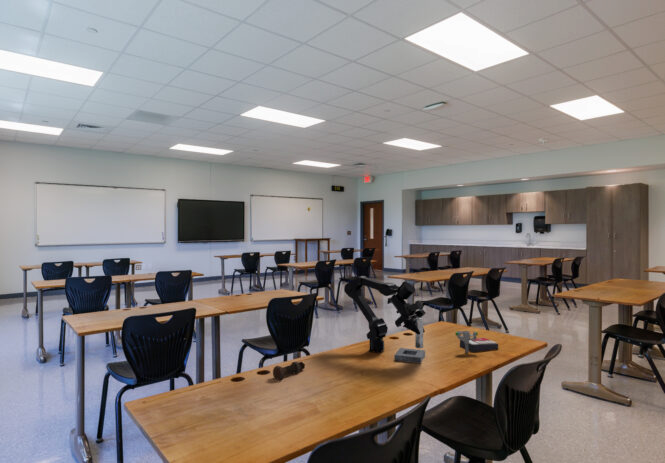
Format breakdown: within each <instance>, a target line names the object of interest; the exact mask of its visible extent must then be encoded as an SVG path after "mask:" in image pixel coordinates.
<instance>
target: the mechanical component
mask: <svg viewBox="0 0 665 463" xmlns="http://www.w3.org/2000/svg"><path fill="white" fill-rule="evenodd" d="M454 333H455V336H456V338H457V339H458V340H459V341H460V340H464V343H465V348H464V351H465V353H467V354H469V350H468V344H469V340H476V338H477V336H478V332H477V331H472V334H471V332H470V331H469V330H457V331H456V332H454ZM461 335H462V336H461Z"/></svg>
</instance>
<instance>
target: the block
mask: <svg viewBox="0 0 665 463" xmlns="http://www.w3.org/2000/svg"><path fill="white" fill-rule="evenodd" d="M425 357H426V350H425V349H418V348H416V349H415V348H404V347H400V348H399V349H398V350H397V351H396V352H395V354H394V357H393V358H394V361H396V362H397V361H398V362H404V363H413V364H422V362H423V360H424V359H425Z"/></svg>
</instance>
